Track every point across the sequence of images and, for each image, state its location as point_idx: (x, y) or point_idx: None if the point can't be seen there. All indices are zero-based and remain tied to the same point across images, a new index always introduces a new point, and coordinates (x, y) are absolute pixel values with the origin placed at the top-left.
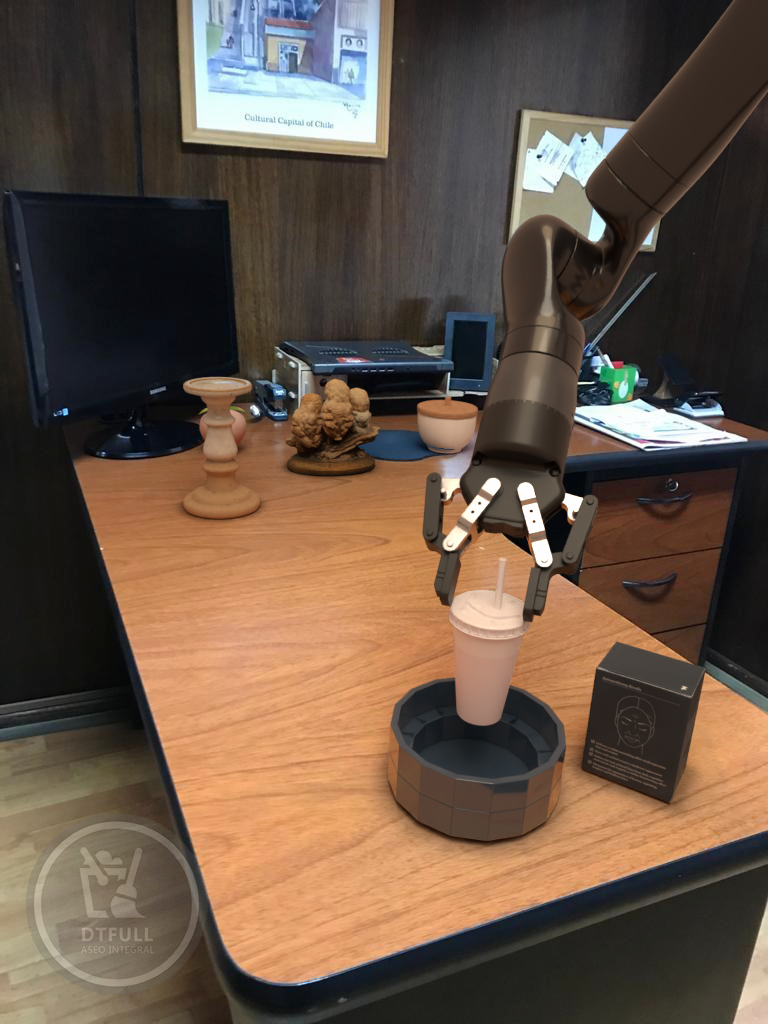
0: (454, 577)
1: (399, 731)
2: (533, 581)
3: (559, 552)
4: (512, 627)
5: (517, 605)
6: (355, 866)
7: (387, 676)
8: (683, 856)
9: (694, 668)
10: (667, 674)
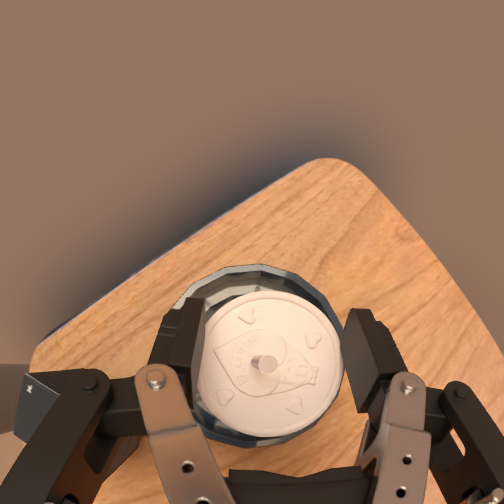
0: (360, 351)
1: (330, 317)
2: (184, 338)
3: (116, 409)
4: (222, 307)
5: (221, 390)
6: (317, 238)
7: None
8: (81, 312)
9: (21, 430)
10: (42, 414)
